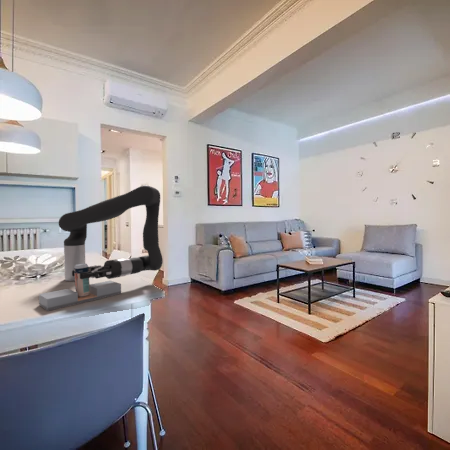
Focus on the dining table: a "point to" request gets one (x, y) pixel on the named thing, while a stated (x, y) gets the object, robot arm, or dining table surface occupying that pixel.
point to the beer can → (81, 280)
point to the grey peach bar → (71, 297)
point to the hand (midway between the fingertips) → (76, 274)
